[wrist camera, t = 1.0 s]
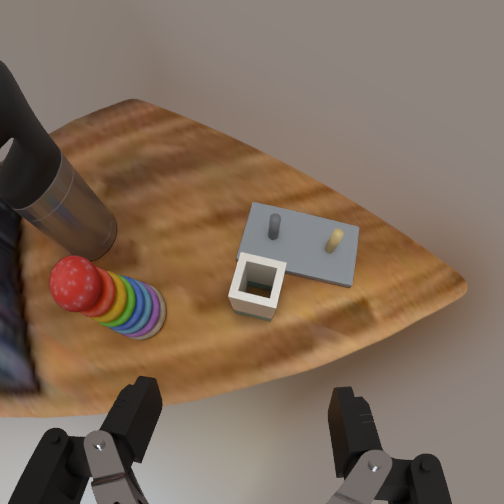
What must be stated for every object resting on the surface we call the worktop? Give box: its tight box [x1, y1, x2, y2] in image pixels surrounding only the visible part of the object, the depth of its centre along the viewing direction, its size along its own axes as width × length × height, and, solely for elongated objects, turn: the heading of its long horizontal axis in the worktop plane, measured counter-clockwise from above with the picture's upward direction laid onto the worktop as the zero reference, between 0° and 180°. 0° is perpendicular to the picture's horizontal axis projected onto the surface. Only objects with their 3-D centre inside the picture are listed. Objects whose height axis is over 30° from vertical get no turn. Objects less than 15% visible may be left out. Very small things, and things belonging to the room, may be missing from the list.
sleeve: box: [228, 252, 287, 322], centre depth 33 cm, size 5×5×10 cm
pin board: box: [236, 202, 359, 288], centre depth 38 cm, size 16×9×6 cm, turn 76°
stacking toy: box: [49, 256, 166, 340], centre depth 29 cm, size 8×8×19 cm
